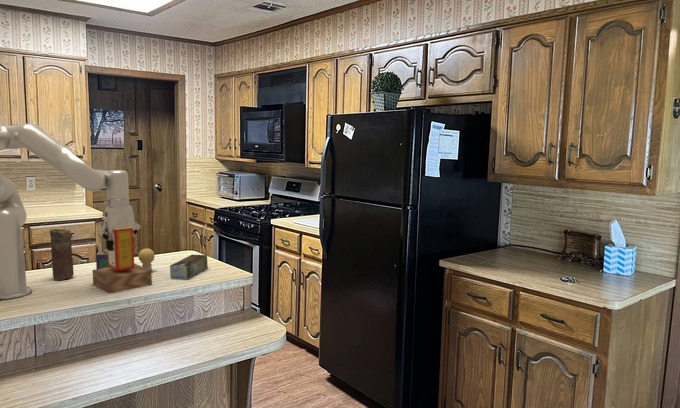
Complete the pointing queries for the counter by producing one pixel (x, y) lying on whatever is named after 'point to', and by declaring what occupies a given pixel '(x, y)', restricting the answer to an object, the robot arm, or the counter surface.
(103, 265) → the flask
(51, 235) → the candle
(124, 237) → the baking soda box
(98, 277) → the walnut riser block
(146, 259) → the light bulb
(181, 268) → the grey rectangular block
